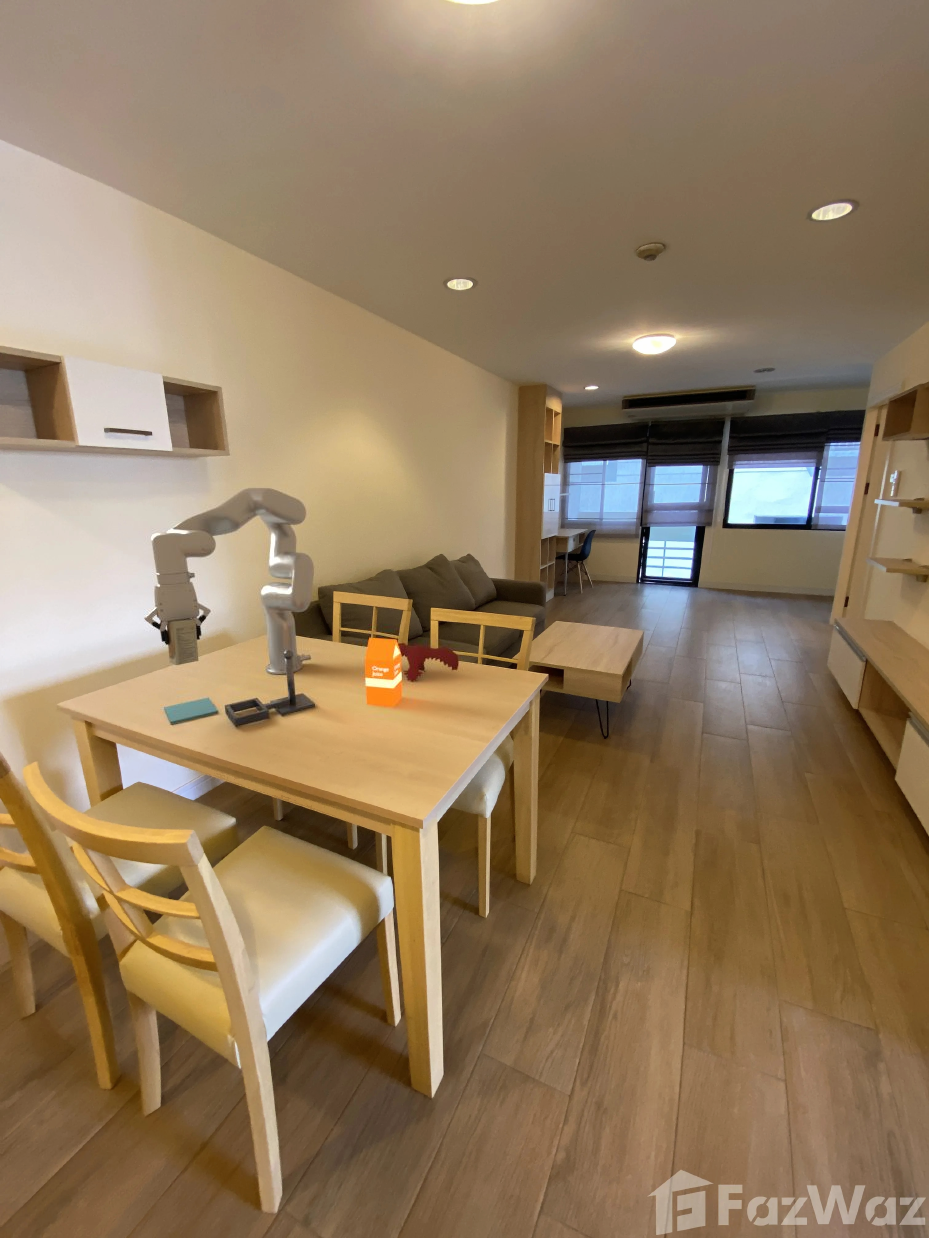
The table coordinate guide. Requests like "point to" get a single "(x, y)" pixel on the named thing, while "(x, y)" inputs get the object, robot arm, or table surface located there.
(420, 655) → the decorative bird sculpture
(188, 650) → the skincare box
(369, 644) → the orange juice
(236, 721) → the ring stand
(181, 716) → the teal mat
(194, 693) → the table surface
